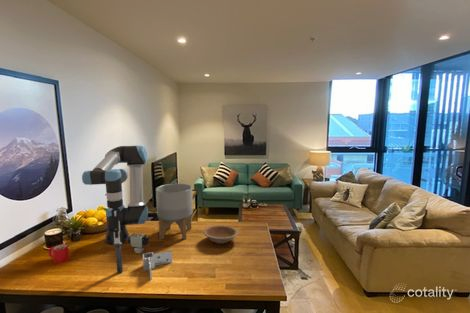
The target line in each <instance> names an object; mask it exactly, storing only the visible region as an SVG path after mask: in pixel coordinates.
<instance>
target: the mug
mask: <svg viewBox="0 0 470 313" xmlns="http://www.w3.org/2000/svg"><path fill="white" fill-rule="evenodd" d="M47 253H48V255H49V257H50V258H52V259H53V263H54V264H59V263H60V264H61V263H63V262H64V263H65V262H66V261H68V260H69V259H70V251H69V245H68V243H61V244H58V245H57V244H56V245H55V246H50V247H49V249H48V251H47Z"/></svg>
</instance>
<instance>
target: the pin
mask: <svg viewBox="0 0 470 313" xmlns="http://www.w3.org/2000/svg"><path fill="white" fill-rule="evenodd" d="M122 244H123V242H121V241H120V243H117V244H113V246H114V248H115V261H116V273H117V274H118V275H119V274H122V273H123V272H124V270H123V269H124V268H123V256H122Z"/></svg>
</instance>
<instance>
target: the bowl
mask: <svg viewBox="0 0 470 313" xmlns="http://www.w3.org/2000/svg"><path fill="white" fill-rule="evenodd" d="M202 233H203V235H204V236H206V237H207V238H208V239H209V240H210V241H211V242H213V243H216V244H218V245H222V244H227V243H228V242H230V241H232V240H233V239H234V238H235V237H237V236H238V235H239V230H238V229H237V228H235V227H234V226H229V225H225V224H224V225H223V224H222V225H221V224H220V225H211V226H208V227H206V228H204V229H203V231H202Z"/></svg>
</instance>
